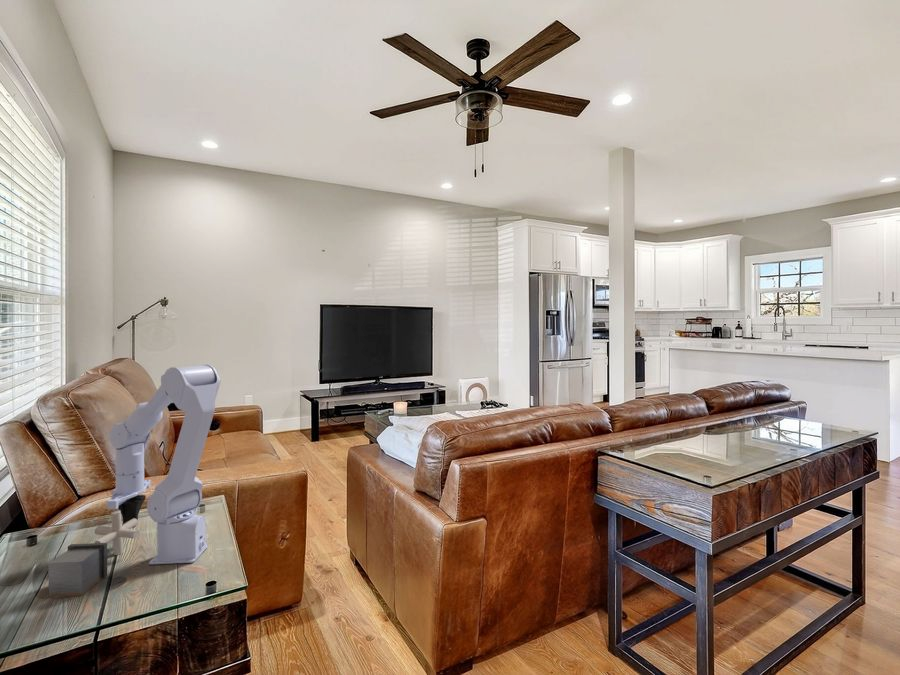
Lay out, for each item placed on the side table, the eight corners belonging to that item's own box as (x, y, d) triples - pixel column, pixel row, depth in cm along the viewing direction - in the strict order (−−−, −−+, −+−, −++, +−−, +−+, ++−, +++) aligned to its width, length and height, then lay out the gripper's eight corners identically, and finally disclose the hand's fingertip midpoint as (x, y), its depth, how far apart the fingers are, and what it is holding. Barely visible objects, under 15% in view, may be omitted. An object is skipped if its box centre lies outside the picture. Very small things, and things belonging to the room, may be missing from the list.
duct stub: (71, 578, 98) (71, 544, 98) (107, 576, 99) (106, 542, 99) (46, 597, 91) (45, 560, 91) (84, 595, 92) (84, 558, 92)
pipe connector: (119, 568, 104) (116, 525, 102) (79, 563, 105) (76, 520, 104) (154, 543, 113) (152, 503, 112) (117, 539, 115) (115, 500, 114)
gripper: (130, 462, 121) (130, 515, 121) (92, 482, 106) (92, 541, 107) (159, 462, 121) (159, 514, 122) (125, 481, 107) (125, 541, 107)
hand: (130, 527), depth 114 cm, fingers closed, pressing on pipe connector
